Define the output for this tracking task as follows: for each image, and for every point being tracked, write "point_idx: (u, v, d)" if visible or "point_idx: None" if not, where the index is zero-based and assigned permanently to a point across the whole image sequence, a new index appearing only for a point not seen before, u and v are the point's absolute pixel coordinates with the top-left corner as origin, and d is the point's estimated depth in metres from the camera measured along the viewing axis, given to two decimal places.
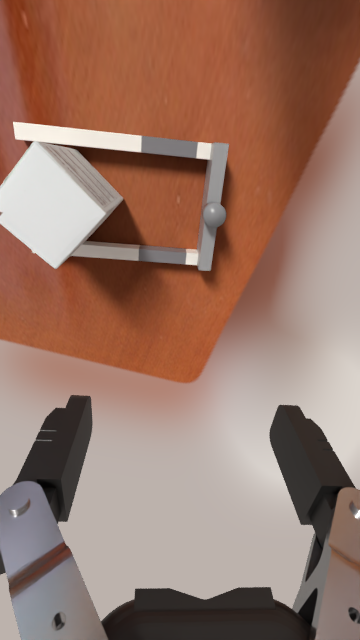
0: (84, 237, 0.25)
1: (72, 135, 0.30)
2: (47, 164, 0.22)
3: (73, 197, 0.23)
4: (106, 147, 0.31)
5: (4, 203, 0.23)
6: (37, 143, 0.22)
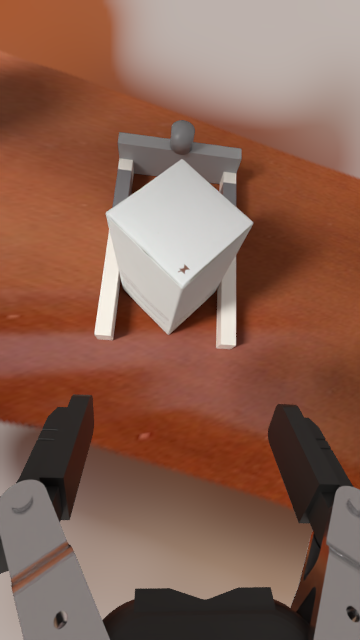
0: (210, 185, 0.20)
1: (108, 277, 0.29)
2: (129, 204, 0.19)
3: (165, 185, 0.20)
4: None
5: (173, 259, 0.18)
6: (108, 211, 0.19)
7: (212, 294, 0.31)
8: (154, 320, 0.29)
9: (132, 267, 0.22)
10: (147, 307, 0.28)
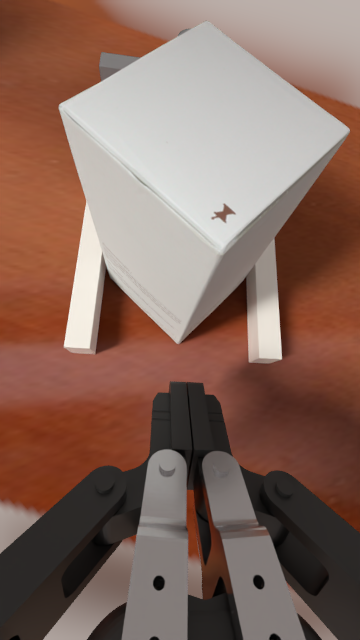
0: (262, 65, 0.11)
1: (87, 260, 0.19)
2: (107, 90, 0.09)
3: (177, 60, 0.10)
4: None
5: (201, 193, 0.09)
6: (64, 102, 0.09)
7: None
8: (157, 323, 0.20)
9: (119, 228, 0.12)
10: (146, 303, 0.18)
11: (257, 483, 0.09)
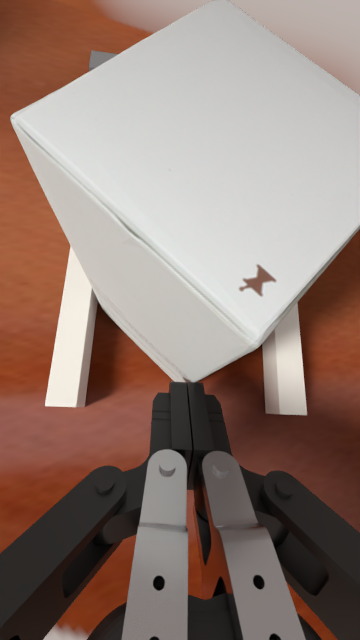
0: None
1: (74, 296, 0.16)
2: (83, 94, 0.07)
3: (184, 50, 0.07)
4: None
5: (222, 248, 0.06)
6: (19, 112, 0.06)
7: None
8: None
9: (107, 274, 0.09)
10: (144, 346, 0.15)
11: (257, 483, 0.09)
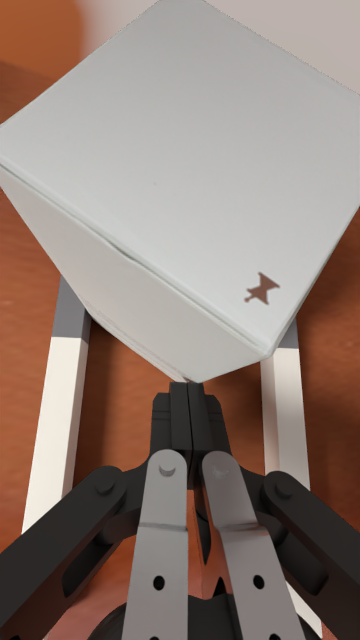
0: (269, 43, 0.07)
1: (42, 490, 0.13)
2: (50, 111, 0.06)
3: (148, 50, 0.07)
4: (69, 411, 0.14)
5: (221, 260, 0.06)
6: None
7: None
8: None
9: (98, 291, 0.09)
10: (143, 352, 0.15)
11: (257, 483, 0.09)
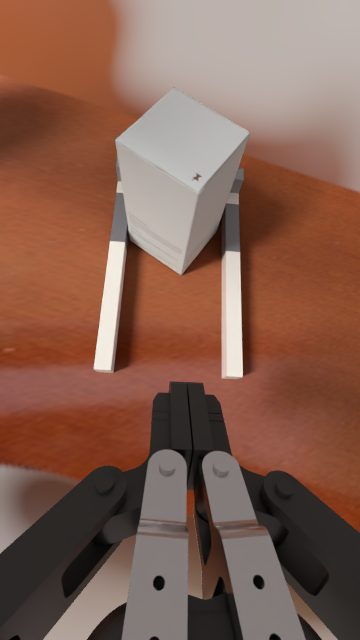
0: (204, 105, 0.22)
1: (108, 307, 0.27)
2: (135, 130, 0.21)
3: (164, 110, 0.21)
4: (120, 274, 0.29)
5: (185, 170, 0.20)
6: (117, 138, 0.20)
7: (214, 233, 0.33)
8: (165, 263, 0.31)
9: (144, 197, 0.23)
10: (158, 248, 0.29)
11: (257, 483, 0.09)
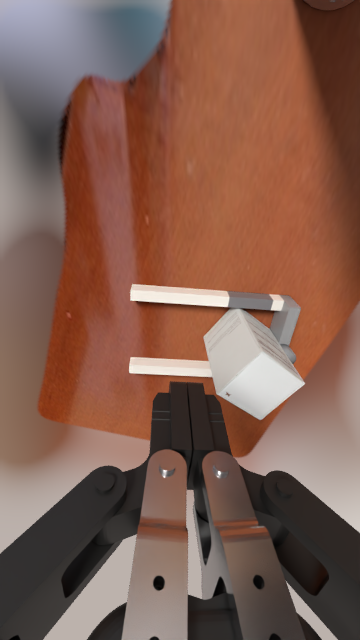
0: (285, 399, 0.33)
1: (175, 297, 0.38)
2: (268, 363, 0.31)
3: (283, 378, 0.32)
4: (200, 304, 0.39)
5: (233, 389, 0.32)
6: (263, 353, 0.30)
7: None
8: (212, 328, 0.42)
9: (236, 347, 0.34)
10: (218, 330, 0.40)
11: (257, 483, 0.09)
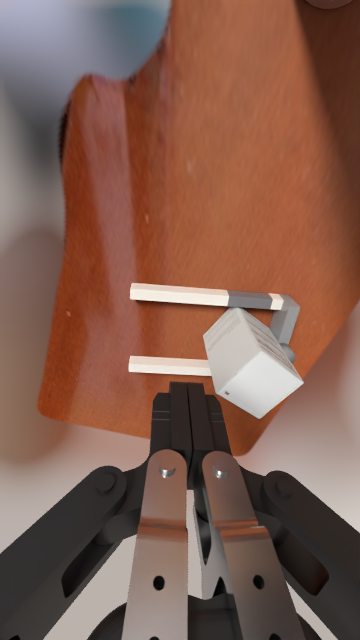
0: (284, 398, 0.34)
1: (174, 296, 0.38)
2: (267, 362, 0.31)
3: (282, 377, 0.32)
4: (200, 303, 0.39)
5: (232, 388, 0.32)
6: (262, 352, 0.30)
7: None
8: (211, 327, 0.42)
9: (235, 346, 0.34)
10: (218, 329, 0.40)
11: (257, 483, 0.09)
